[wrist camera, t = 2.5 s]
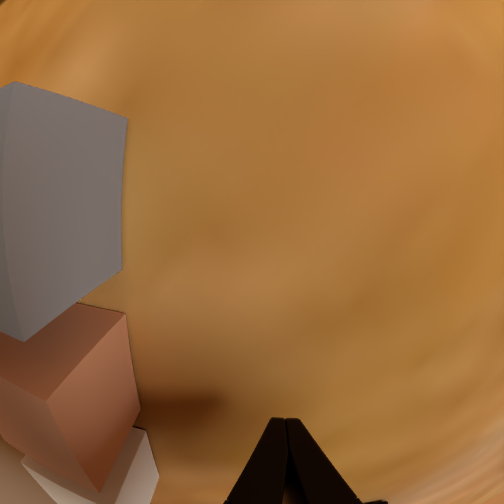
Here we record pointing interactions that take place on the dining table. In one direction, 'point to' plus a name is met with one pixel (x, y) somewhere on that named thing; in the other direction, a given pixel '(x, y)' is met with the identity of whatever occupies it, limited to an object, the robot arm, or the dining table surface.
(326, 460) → the robot arm
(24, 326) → the grey cube
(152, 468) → the white cube
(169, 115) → the dining table surface
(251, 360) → the dining table surface
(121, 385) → the terracotta cube
